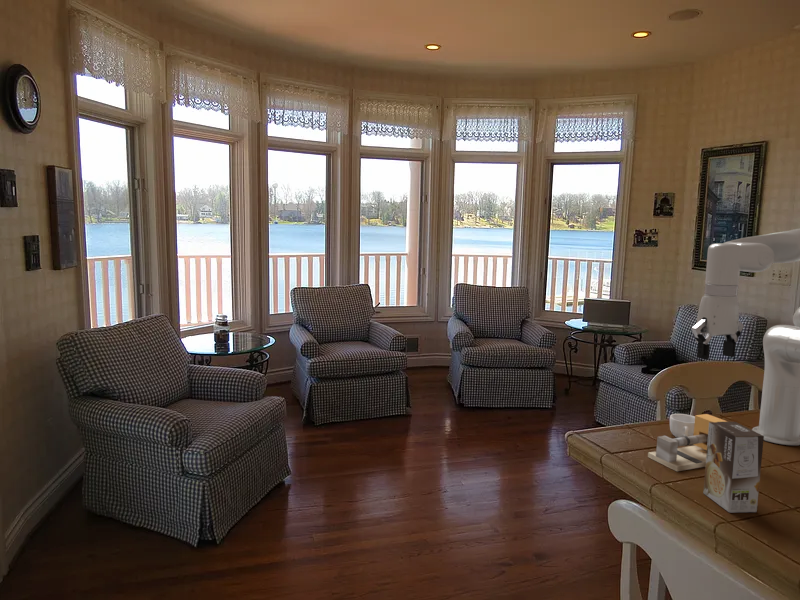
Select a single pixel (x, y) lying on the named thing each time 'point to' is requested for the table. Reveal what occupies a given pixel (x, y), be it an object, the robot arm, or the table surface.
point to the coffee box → (733, 466)
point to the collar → (704, 426)
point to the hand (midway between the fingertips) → (715, 357)
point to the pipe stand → (680, 452)
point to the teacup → (682, 425)
